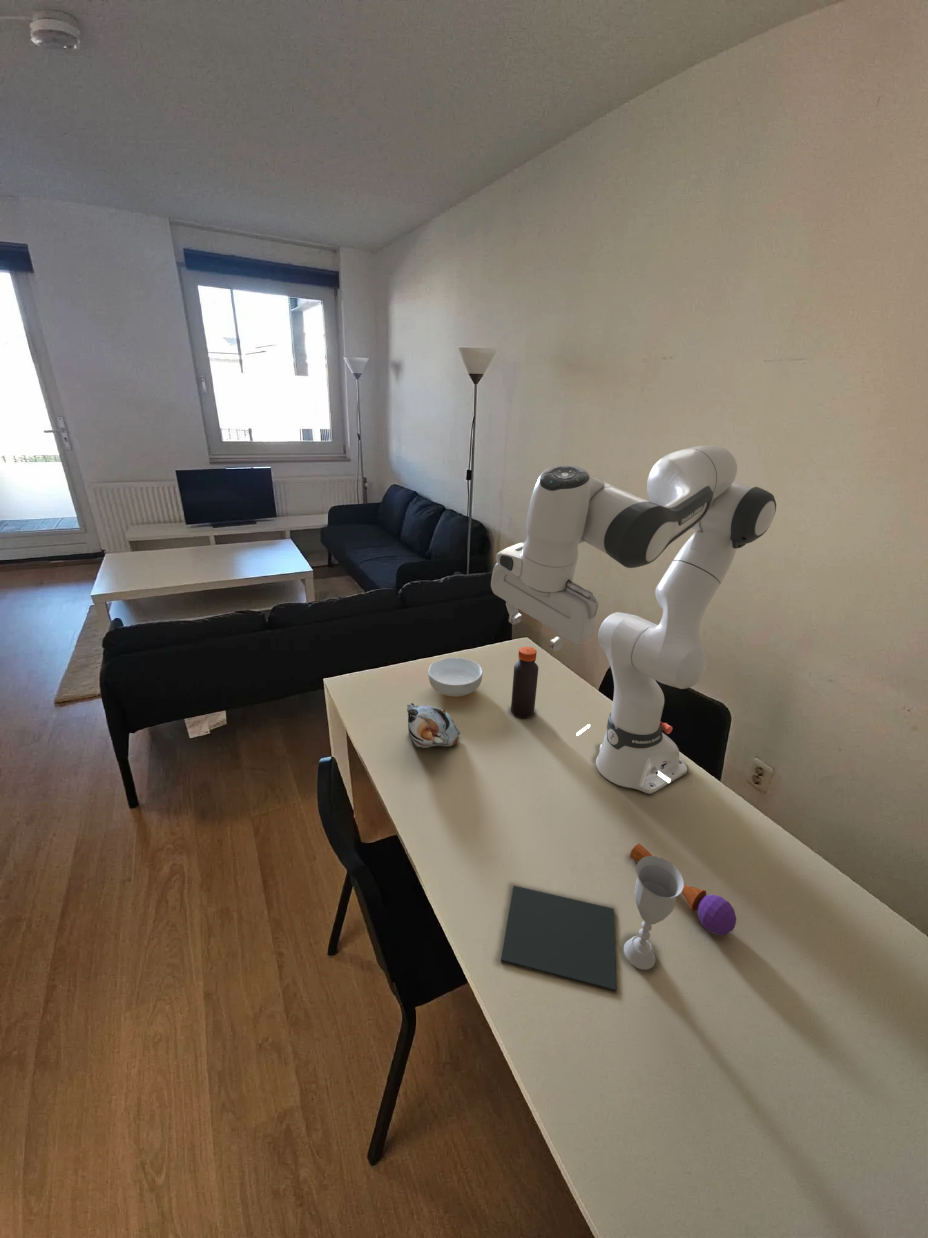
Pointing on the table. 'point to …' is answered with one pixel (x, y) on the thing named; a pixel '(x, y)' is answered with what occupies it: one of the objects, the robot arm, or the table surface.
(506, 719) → the table surface
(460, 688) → the cereal bowl
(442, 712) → the lucky cat figurine
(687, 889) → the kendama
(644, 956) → the chalice
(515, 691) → the bottle
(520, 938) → the mat
